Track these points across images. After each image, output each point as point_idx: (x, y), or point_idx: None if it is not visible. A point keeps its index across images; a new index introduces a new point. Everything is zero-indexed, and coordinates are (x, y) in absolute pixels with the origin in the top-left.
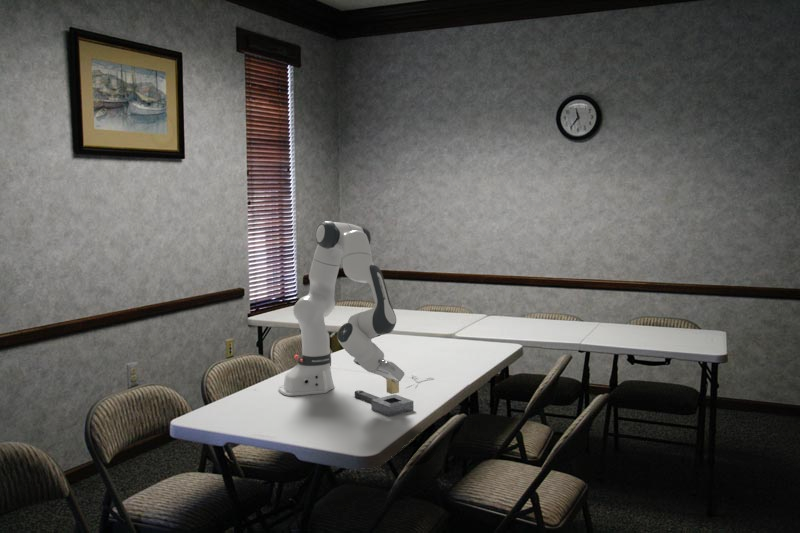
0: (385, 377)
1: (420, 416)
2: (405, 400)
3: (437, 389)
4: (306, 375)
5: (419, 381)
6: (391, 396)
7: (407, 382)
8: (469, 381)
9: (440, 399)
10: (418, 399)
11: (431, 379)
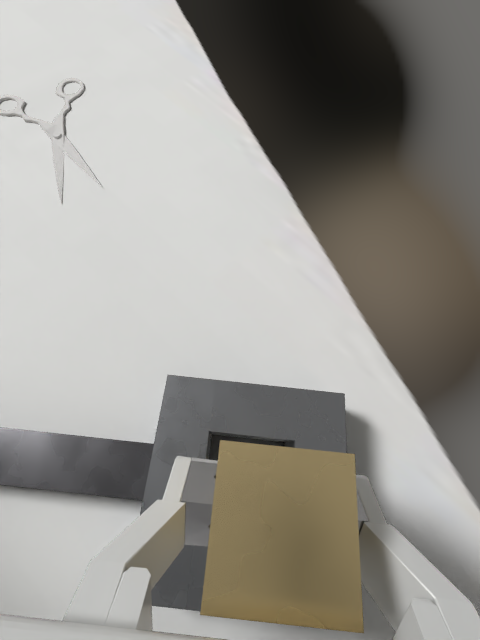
0: (178, 551)
1: (428, 449)
2: (306, 421)
3: (179, 148)
4: None
5: (58, 124)
6: (180, 422)
7: (18, 151)
8: (200, 52)
9: (281, 219)
10: (215, 271)
11: (81, 91)
